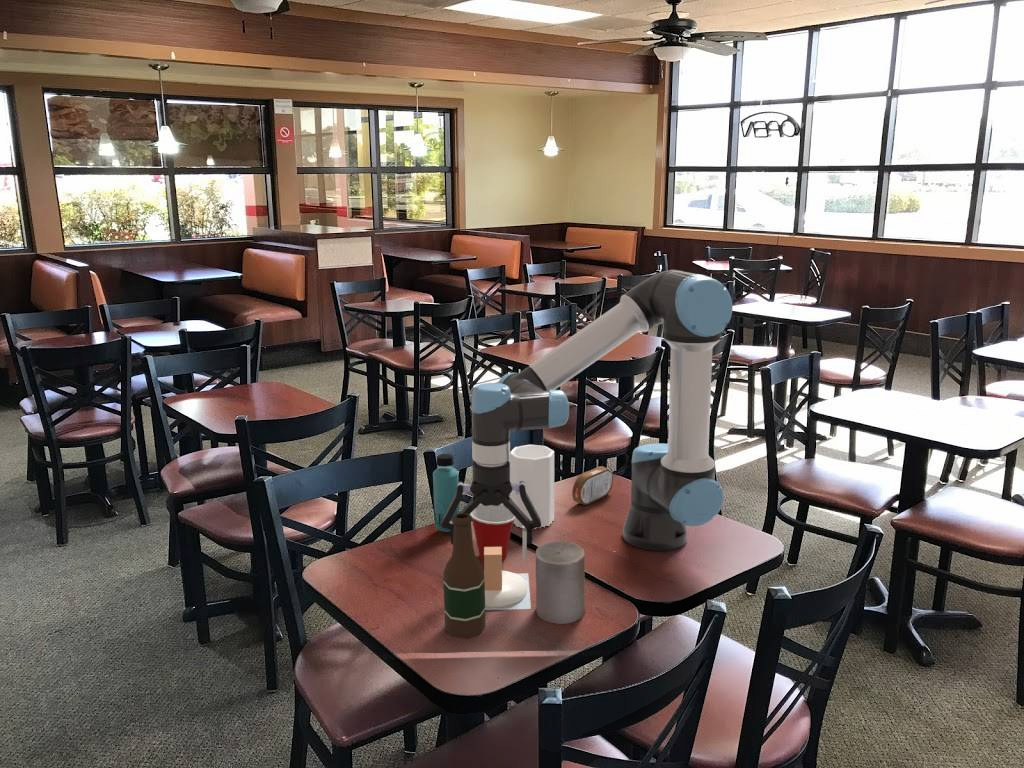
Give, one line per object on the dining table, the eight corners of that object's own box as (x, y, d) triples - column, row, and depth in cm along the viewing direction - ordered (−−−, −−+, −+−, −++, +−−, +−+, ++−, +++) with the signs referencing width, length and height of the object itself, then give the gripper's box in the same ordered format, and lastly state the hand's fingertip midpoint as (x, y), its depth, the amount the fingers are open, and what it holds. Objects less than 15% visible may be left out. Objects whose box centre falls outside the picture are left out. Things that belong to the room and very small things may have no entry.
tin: (605, 490, 226) (606, 461, 224) (615, 493, 224) (615, 464, 222) (571, 506, 215) (571, 476, 213) (580, 509, 213) (580, 479, 211)
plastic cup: (512, 572, 180) (512, 522, 177) (465, 568, 182) (463, 518, 179) (521, 550, 191) (521, 502, 188) (476, 547, 193) (475, 499, 190)
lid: (526, 574, 178) (525, 535, 175) (528, 607, 164) (527, 566, 162) (461, 575, 177) (460, 536, 175) (458, 609, 164) (457, 567, 162)
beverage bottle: (465, 529, 202) (463, 452, 197) (452, 539, 197) (450, 461, 192) (442, 524, 205) (440, 449, 200) (429, 535, 199) (426, 457, 194)
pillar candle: (559, 597, 170) (559, 530, 166) (595, 614, 163) (595, 545, 159) (525, 614, 163) (524, 545, 159) (561, 633, 156) (560, 562, 152)
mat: (528, 576, 178) (528, 573, 178) (530, 612, 164) (530, 608, 164) (459, 577, 178) (459, 574, 178) (456, 613, 164) (455, 610, 163)
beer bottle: (445, 621, 161) (441, 508, 155) (484, 619, 161) (482, 506, 155) (445, 643, 153) (441, 525, 147) (486, 641, 154) (484, 523, 148)
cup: (563, 519, 207) (563, 450, 203) (535, 534, 199) (535, 462, 195) (529, 508, 214) (528, 441, 210) (501, 522, 206) (500, 452, 202)
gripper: (552, 454, 167) (550, 549, 173) (430, 454, 167) (432, 550, 172) (554, 467, 160) (553, 566, 165) (427, 467, 160) (429, 566, 165)
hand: (491, 558), depth 169 cm, fingers open, 13 cm apart
